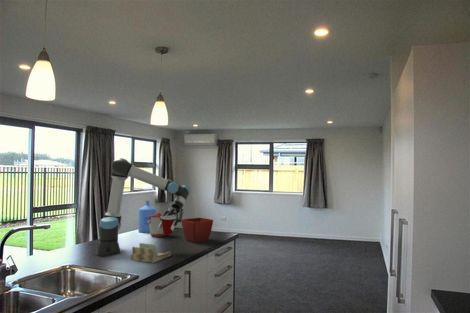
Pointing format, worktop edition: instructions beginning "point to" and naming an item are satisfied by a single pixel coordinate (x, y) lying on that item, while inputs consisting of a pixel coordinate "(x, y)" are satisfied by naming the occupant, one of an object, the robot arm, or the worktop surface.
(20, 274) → the worktop surface
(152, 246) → the pusher
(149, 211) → the water jug
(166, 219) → the plastic cup
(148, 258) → the wooden tray
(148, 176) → the robot arm
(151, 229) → the citrus juicer
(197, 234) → the plant pot
